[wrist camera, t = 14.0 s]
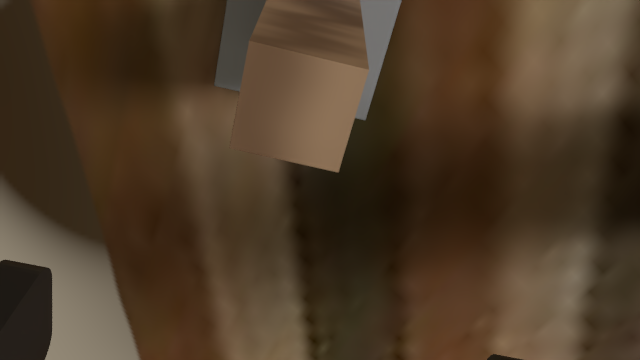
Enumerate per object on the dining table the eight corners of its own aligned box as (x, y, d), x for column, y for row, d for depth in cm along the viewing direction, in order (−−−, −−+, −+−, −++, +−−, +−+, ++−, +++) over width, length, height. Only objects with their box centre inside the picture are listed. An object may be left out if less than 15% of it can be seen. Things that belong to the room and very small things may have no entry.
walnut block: (359, -2, 31) (369, 69, 22) (338, 76, 34) (338, 172, 24) (276, -23, 31) (249, 40, 21) (260, 57, 33) (229, 147, 24)
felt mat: (410, -38, 31) (412, -36, 30) (364, 115, 35) (365, 120, 35) (241, -82, 30) (239, -80, 30) (215, 81, 35) (213, 85, 34)
